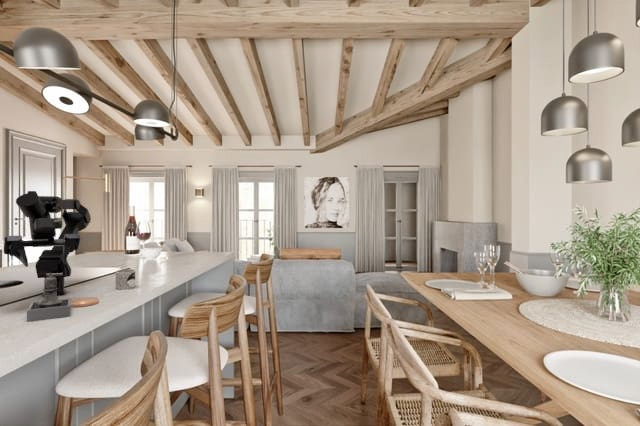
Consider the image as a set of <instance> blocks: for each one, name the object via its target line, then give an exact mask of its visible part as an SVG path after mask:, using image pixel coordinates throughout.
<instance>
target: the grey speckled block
mask: <svg viewBox="0 0 640 426" xmlns="http://www.w3.org/2000/svg"><path fill="white" fill-rule="evenodd" d="M135 288H136V270H135V269H120V270H116V271H115V290H118V291H126V290H127V291H128V290H133V289H135Z"/></svg>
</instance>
